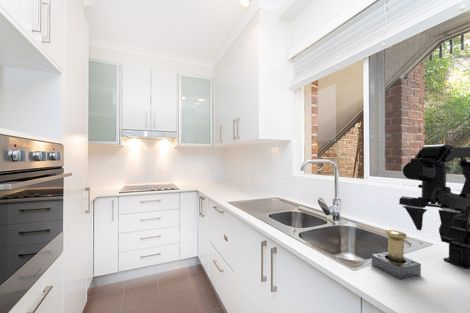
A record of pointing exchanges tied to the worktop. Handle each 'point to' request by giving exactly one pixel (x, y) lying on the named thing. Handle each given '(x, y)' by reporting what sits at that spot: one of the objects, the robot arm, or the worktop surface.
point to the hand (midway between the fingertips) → (432, 231)
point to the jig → (396, 266)
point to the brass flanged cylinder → (395, 245)
